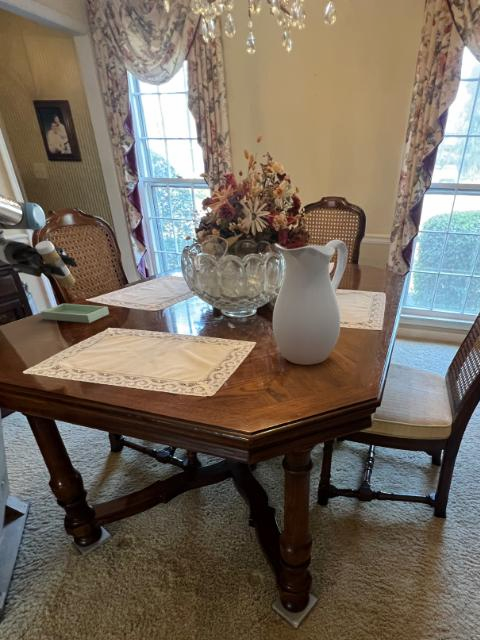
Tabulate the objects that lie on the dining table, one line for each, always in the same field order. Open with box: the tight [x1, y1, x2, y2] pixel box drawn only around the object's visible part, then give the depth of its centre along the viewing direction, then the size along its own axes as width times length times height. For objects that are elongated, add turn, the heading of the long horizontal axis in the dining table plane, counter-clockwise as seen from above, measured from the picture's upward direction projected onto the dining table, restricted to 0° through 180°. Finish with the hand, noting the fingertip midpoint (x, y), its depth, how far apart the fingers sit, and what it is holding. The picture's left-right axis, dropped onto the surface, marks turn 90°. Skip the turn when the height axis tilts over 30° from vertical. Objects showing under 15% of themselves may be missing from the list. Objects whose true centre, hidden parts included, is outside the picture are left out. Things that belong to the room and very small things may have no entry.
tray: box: [40, 303, 110, 324], centre depth 127 cm, size 18×10×2 cm, turn 78°
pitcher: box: [272, 239, 349, 366], centre depth 94 cm, size 24×17×28 cm
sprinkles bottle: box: [34, 240, 77, 288], centre depth 115 cm, size 5×5×14 cm
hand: (68, 267), depth 113 cm, fingers closed on sprinkles bottle, 4 cm apart
